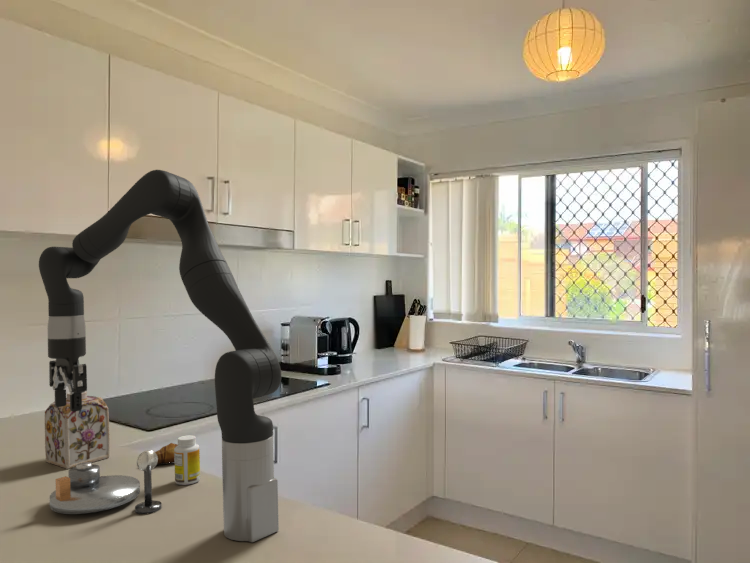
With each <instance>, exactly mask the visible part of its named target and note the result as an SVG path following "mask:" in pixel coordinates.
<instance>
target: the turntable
mask: <svg viewBox="0 0 750 563" xmlns="http://www.w3.org/2000/svg"><path fill="white" fill-rule="evenodd" d="M140 493H141V482H140V479H138V478H136V477H134V476H130V475H119V474H118V475H116V474H115V475H102V476H101V475H100V482H99V483H98V484H96V485H94V486H91V487H87V488H80V489H73V488H70V478H69V476H61V477H58V478H55V490H54V491H52V492H51V493H50V495H49V509H50V510H52V512H55V513H59V514H64V515H81V514H91V513H97V512H103V511H107V510H110V509H114V508H117V507H120V506H122V505H125V504H127V503H130V502H131V501H133V500H134V499H136V498H137V497H138V496H140Z"/></svg>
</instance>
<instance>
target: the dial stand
mask: <svg viewBox="0 0 750 563" xmlns="http://www.w3.org/2000/svg"><path fill="white" fill-rule="evenodd" d="M155 452H156V451H153V450H148V449H147V450H144V451H142V452H141V453H140V454H139V455H138V457H137V458H136V466H137V468H138V470H139V471H142V472H143V482H144V484H143V486H144V487H143V488H144V492H143V494H144V499H143V500H144V501H143V502H140V503H138V504H136V505H135V507H134V512H135V513H136V514H138V515H148V514H147V513H149V514H153V512H154V513H157V512H159V511H160V510H161V509H162V508H163V506H162V502H161V501H160V500H153V492H152V491H153V490H152V489H153V488H152V470H154V468H156V466H158V465H157V462H158V456H157V454H156V453H155Z"/></svg>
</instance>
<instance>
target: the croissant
mask: <svg viewBox="0 0 750 563" xmlns="http://www.w3.org/2000/svg"><path fill="white" fill-rule="evenodd" d="M176 446H178V443H173V442H170V443H169V444H167V445H163V446H162V447H161V448H159V450H156V451H154V452H155V453H156V454H157V456H158V462H157V465H156V466H160V465H166V464H175V461H174V449H175V447H176ZM169 462H170V463H169Z"/></svg>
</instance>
